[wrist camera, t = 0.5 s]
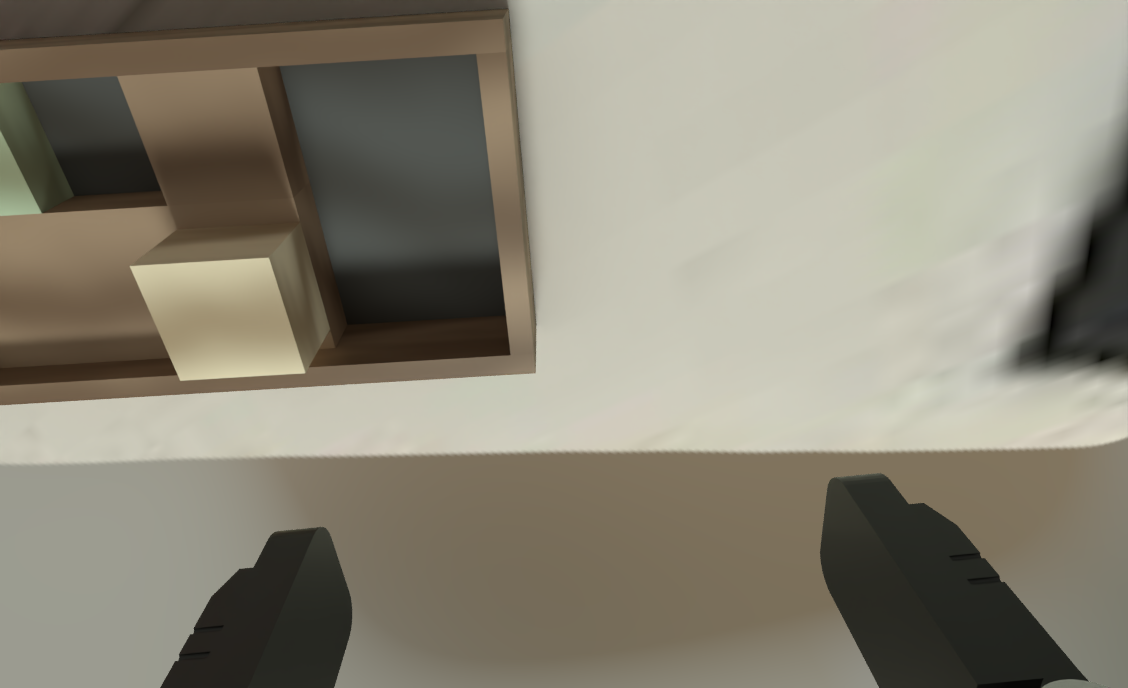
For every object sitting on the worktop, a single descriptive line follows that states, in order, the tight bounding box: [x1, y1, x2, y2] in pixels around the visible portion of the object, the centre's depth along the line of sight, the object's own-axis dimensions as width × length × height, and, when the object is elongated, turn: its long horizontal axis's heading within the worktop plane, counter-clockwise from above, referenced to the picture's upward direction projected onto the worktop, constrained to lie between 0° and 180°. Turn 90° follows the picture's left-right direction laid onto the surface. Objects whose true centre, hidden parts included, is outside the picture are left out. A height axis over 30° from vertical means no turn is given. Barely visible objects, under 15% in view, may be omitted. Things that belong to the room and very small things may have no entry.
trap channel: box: [0, 9, 536, 405], centre depth 27 cm, size 14×26×4 cm, turn 93°
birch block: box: [130, 222, 330, 381], centre depth 26 cm, size 5×5×4 cm
